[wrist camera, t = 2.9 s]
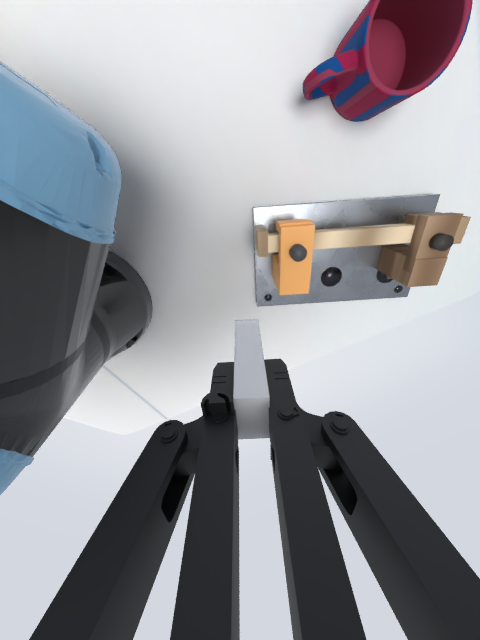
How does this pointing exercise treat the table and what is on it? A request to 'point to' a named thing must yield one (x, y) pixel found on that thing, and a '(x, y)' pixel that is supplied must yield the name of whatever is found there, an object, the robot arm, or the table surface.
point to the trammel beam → (398, 260)
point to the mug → (390, 55)
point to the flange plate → (339, 249)
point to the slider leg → (293, 256)
